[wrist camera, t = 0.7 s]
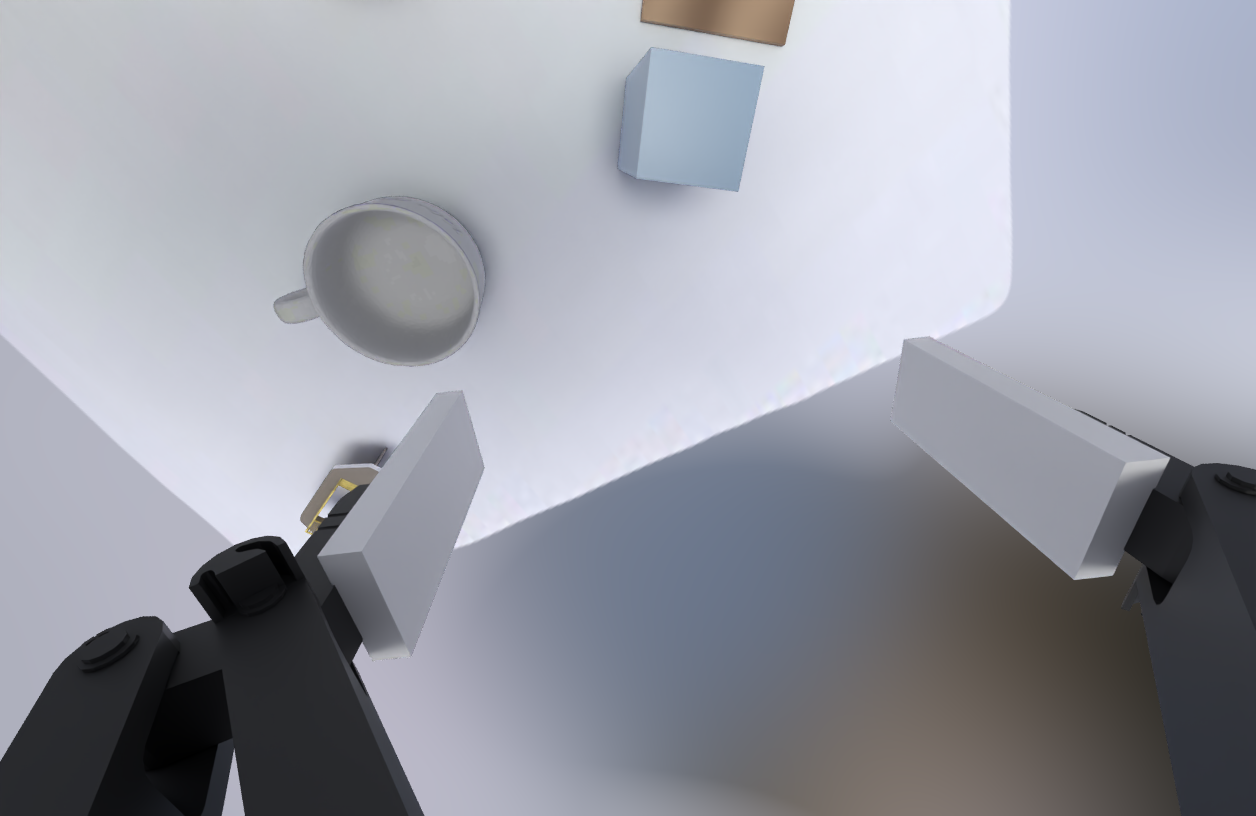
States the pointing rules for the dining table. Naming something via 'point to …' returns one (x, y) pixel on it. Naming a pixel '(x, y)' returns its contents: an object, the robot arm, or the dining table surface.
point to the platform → (341, 476)
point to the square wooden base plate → (724, 17)
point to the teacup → (391, 281)
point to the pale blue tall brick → (688, 119)
